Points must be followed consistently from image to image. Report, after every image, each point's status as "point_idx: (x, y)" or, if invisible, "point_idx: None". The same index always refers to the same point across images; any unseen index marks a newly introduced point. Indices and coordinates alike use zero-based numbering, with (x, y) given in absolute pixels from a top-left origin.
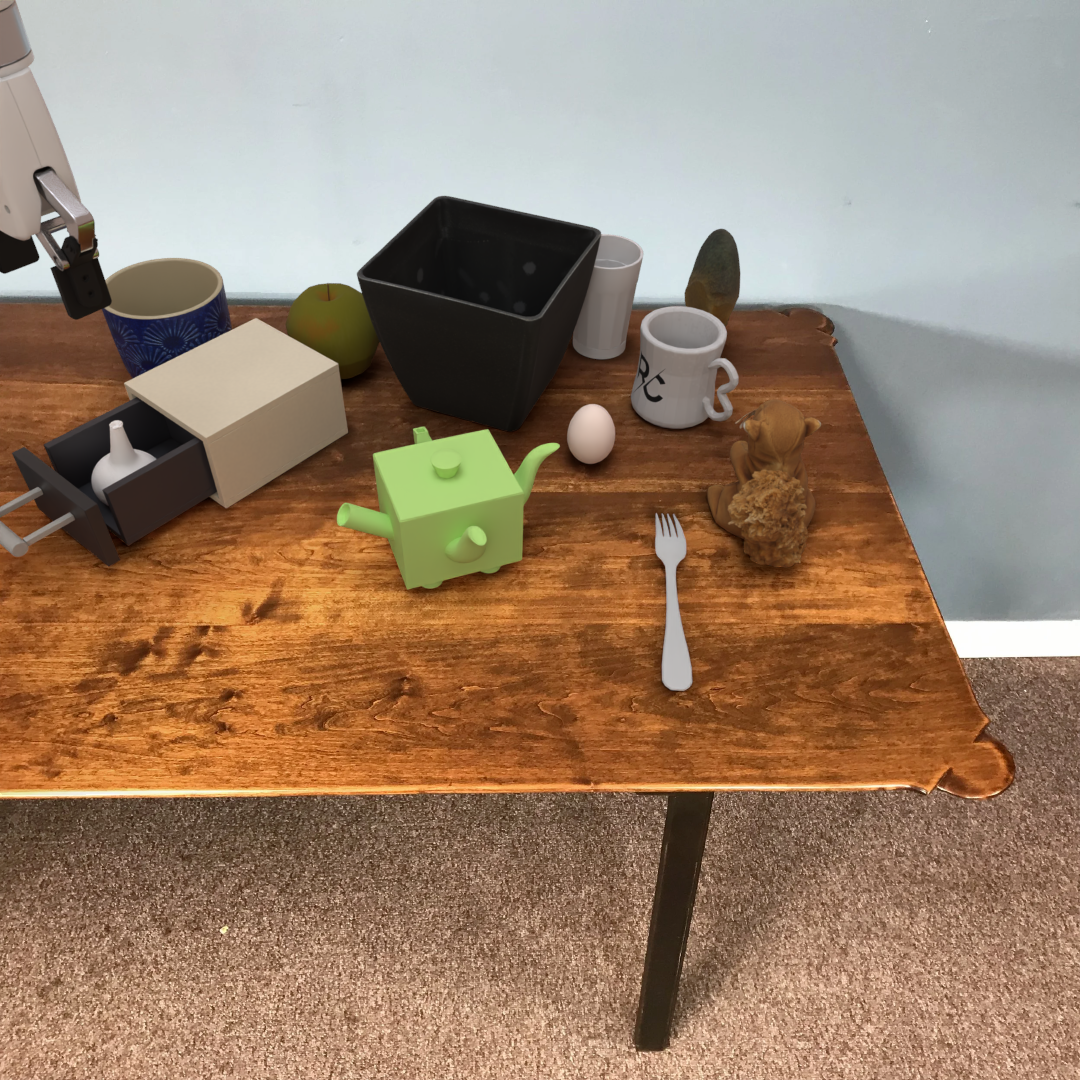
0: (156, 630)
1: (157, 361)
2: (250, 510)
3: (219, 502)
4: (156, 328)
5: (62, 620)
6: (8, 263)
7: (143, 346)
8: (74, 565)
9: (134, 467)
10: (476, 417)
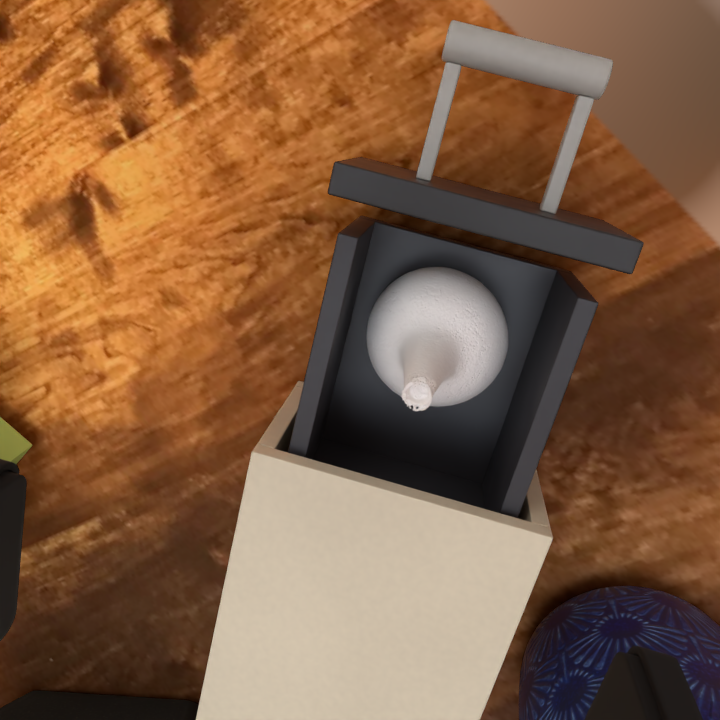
0: (197, 85)
1: (602, 642)
2: (260, 394)
3: None
4: None
5: (360, 18)
6: (617, 710)
7: None
8: (443, 142)
9: (396, 347)
10: (74, 701)
